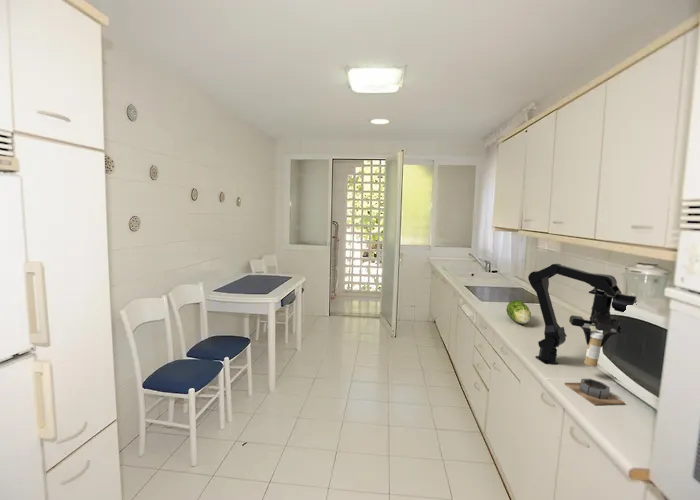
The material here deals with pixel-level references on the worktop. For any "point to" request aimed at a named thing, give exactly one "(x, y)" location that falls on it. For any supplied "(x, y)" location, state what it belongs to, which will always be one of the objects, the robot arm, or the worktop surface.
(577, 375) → the worktop surface
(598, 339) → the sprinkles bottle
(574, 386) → the socket board
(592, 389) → the socket collar
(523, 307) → the lettuce
